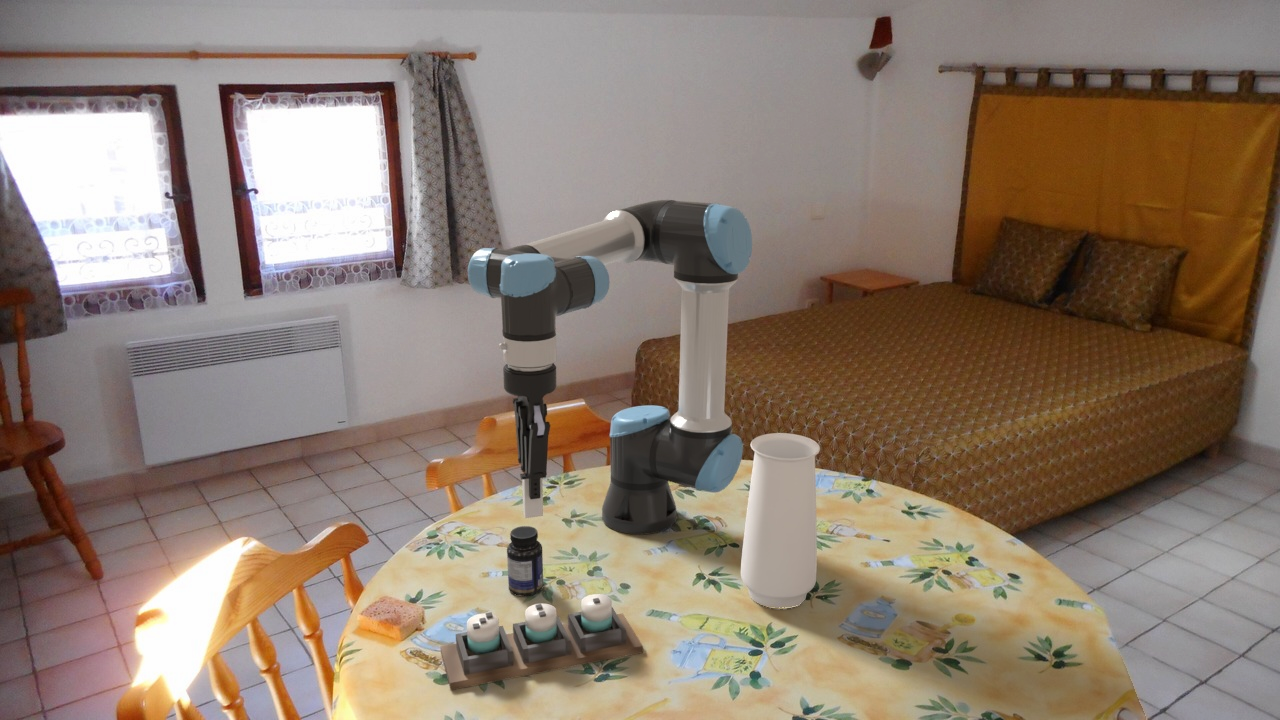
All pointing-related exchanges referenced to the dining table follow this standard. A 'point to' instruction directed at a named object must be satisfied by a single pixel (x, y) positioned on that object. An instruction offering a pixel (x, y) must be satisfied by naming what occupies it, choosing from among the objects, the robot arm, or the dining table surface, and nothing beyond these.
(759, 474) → the vase
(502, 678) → the button board
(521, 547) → the pill bottle
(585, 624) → the button one
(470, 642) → the button three
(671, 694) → the dining table surface
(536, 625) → the button two
